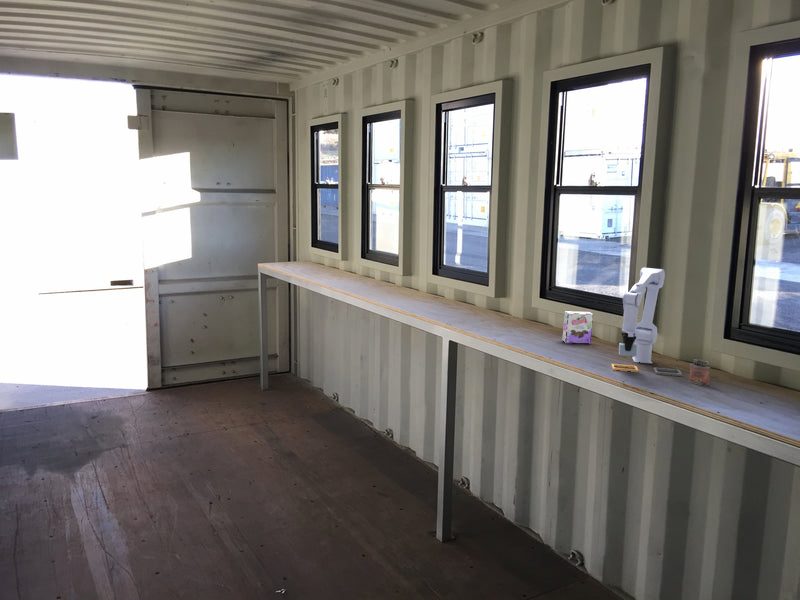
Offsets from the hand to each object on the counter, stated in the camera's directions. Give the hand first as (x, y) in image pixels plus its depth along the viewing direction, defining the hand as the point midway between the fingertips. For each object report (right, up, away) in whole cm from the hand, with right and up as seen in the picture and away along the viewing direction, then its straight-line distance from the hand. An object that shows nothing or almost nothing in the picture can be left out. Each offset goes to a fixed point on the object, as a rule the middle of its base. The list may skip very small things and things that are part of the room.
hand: (627, 349), depth 284 cm
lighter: (+24, -13, -17) cm, 32 cm away
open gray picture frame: (+17, -10, -3) cm, 20 cm away
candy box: (-8, -1, +54) cm, 54 cm away
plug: (0, -2, 0) cm, 2 cm away
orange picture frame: (-1, -9, +1) cm, 9 cm away
